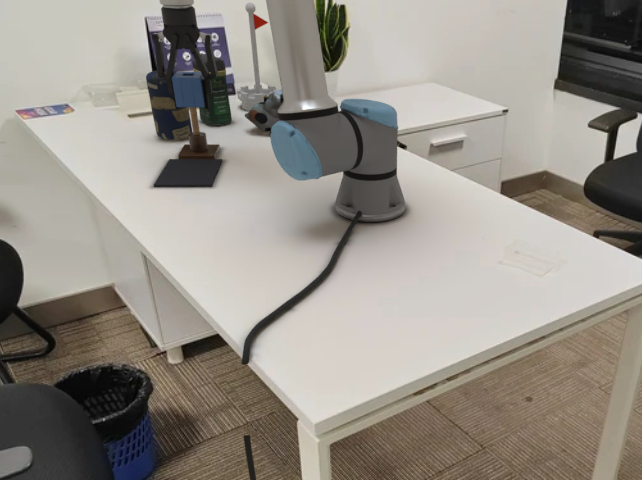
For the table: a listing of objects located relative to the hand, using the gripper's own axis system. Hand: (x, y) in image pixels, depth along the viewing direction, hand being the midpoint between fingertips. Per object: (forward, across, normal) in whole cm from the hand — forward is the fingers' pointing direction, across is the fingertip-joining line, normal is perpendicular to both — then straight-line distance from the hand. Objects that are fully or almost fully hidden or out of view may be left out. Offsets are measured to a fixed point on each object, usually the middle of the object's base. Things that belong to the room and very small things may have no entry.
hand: (193, 107), depth 172 cm
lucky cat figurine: (+12, -18, -23) cm, 31 cm away
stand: (+12, 0, 0) cm, 12 cm away
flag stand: (+12, -11, -47) cm, 49 cm away
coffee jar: (+12, 0, -30) cm, 32 cm away
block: (-1, 0, 0) cm, 1 cm away
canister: (+12, +9, -15) cm, 21 cm away
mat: (+12, 0, +14) cm, 19 cm away
